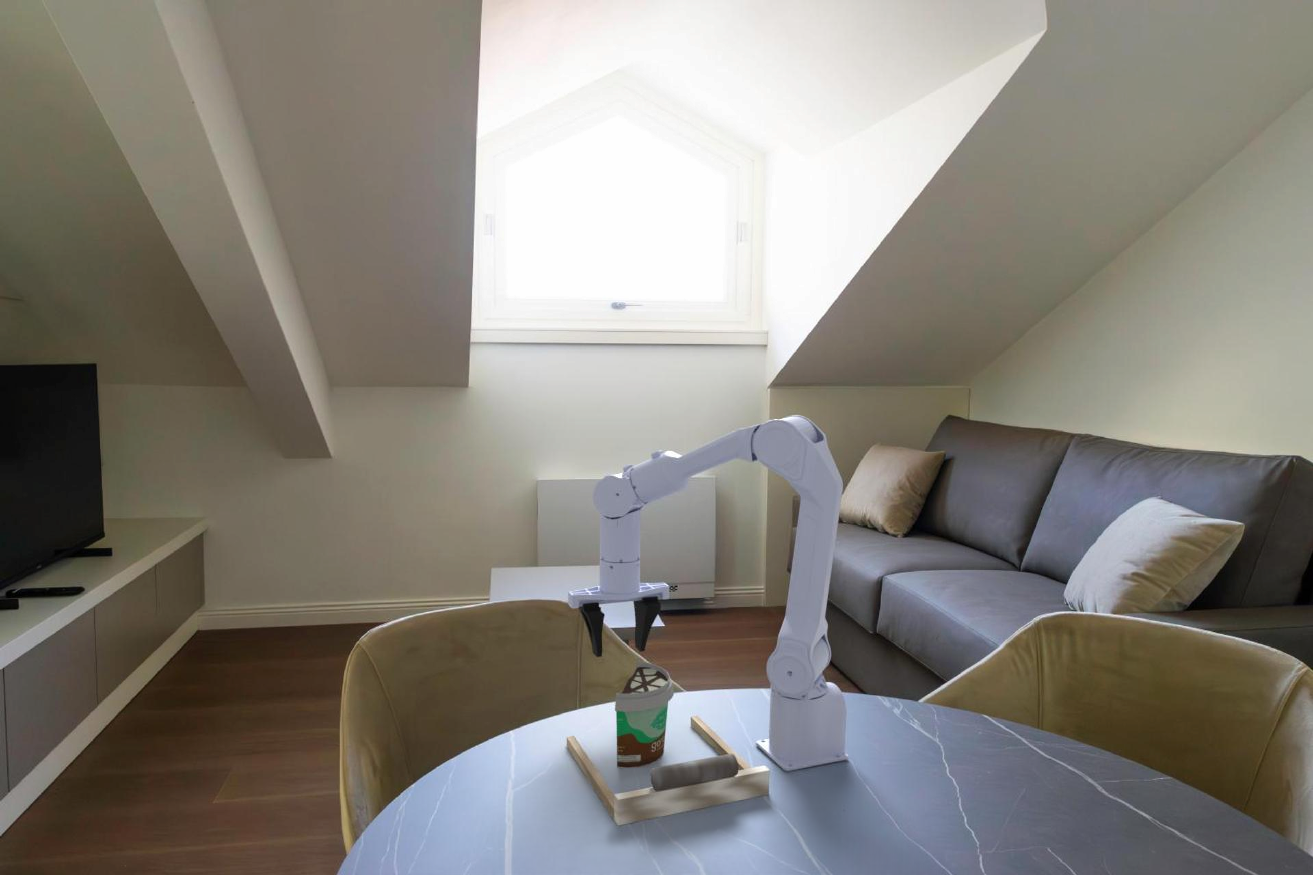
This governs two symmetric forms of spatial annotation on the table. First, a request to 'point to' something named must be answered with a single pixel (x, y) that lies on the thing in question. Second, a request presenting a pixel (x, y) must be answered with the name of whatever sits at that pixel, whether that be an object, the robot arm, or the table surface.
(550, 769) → the table surface
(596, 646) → the robot arm
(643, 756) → the food container
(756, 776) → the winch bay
